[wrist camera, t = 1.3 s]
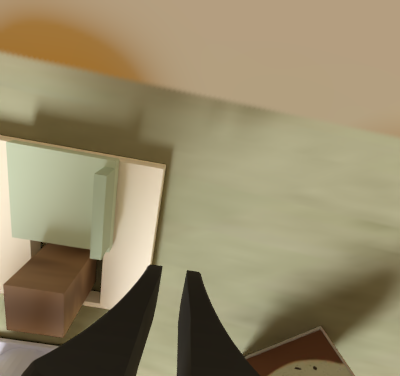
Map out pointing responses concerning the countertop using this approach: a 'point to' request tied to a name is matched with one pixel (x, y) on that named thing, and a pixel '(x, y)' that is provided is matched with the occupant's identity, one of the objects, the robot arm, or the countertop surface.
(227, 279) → the countertop surface
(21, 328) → the walnut block
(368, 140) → the countertop surface
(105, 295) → the puzzle board
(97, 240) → the lid
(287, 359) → the food container
